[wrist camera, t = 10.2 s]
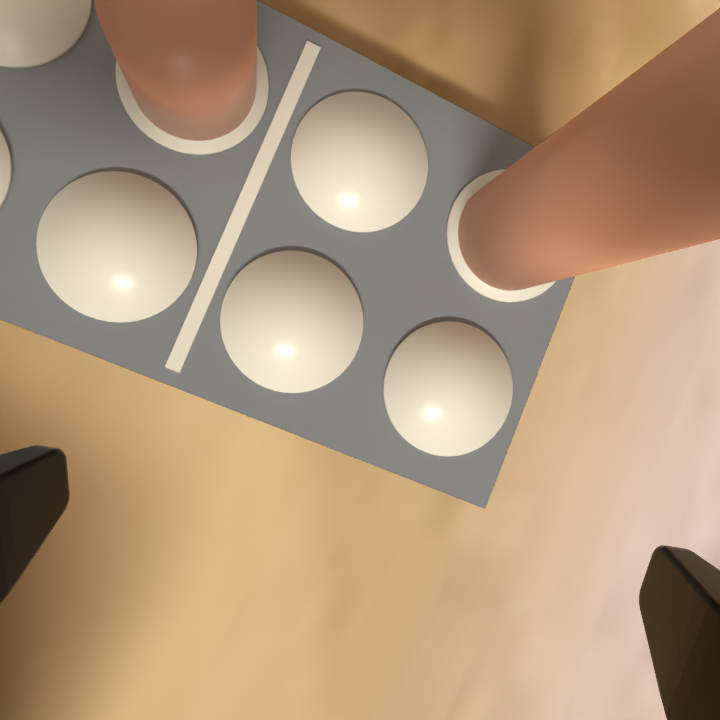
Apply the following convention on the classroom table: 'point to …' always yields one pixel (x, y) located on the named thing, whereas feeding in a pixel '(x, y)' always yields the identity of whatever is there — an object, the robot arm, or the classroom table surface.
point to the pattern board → (263, 229)
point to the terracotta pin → (610, 178)
